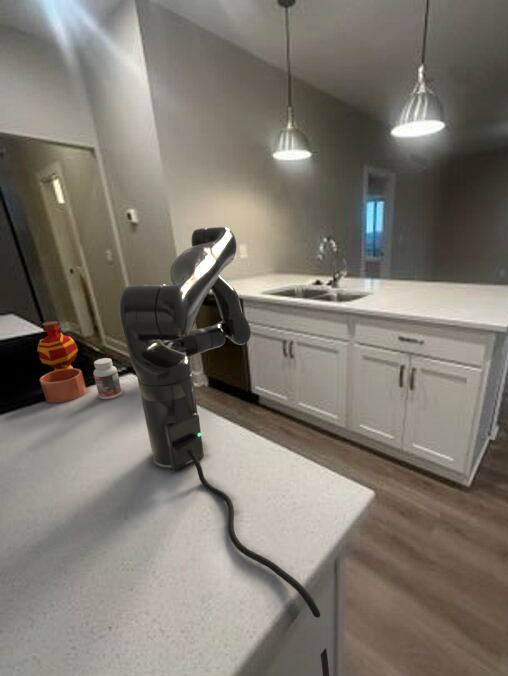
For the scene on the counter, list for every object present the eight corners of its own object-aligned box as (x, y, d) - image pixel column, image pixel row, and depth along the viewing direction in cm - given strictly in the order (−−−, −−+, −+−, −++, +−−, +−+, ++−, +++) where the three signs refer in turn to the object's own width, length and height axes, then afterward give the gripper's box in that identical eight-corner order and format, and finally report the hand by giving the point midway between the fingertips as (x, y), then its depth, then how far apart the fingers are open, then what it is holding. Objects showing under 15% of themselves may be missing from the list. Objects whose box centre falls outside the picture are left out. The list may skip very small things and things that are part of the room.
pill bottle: (95, 400, 89) (86, 365, 85) (104, 390, 93) (96, 357, 90) (117, 399, 89) (109, 364, 85) (125, 389, 94) (118, 356, 90)
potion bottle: (89, 367, 108) (77, 321, 102) (53, 379, 100) (38, 330, 94) (72, 361, 113) (60, 316, 107) (36, 371, 105) (21, 324, 99)
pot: (91, 393, 92) (86, 375, 90) (50, 406, 86) (44, 386, 83) (80, 383, 98) (75, 365, 96) (41, 394, 91) (35, 375, 89)
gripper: (179, 326, 108) (126, 338, 97) (203, 336, 99) (148, 350, 88) (182, 348, 111) (131, 362, 100) (206, 360, 102) (153, 376, 91)
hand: (139, 356), depth 94 cm, fingers open, 8 cm apart
